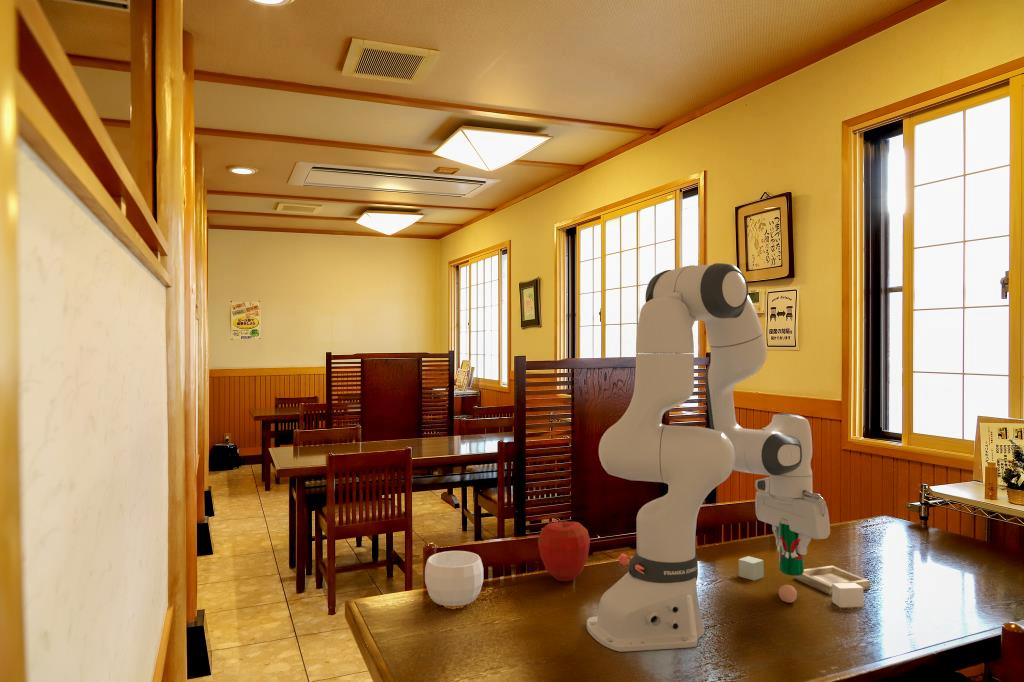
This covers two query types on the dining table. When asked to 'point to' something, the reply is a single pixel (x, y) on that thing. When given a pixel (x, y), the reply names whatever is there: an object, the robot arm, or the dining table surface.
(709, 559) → the dining table surface
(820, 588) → the tray
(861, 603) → the cream block
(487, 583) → the dining table surface
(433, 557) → the cup
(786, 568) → the soda can
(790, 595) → the terracotta ball
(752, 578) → the sage block
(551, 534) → the apple
